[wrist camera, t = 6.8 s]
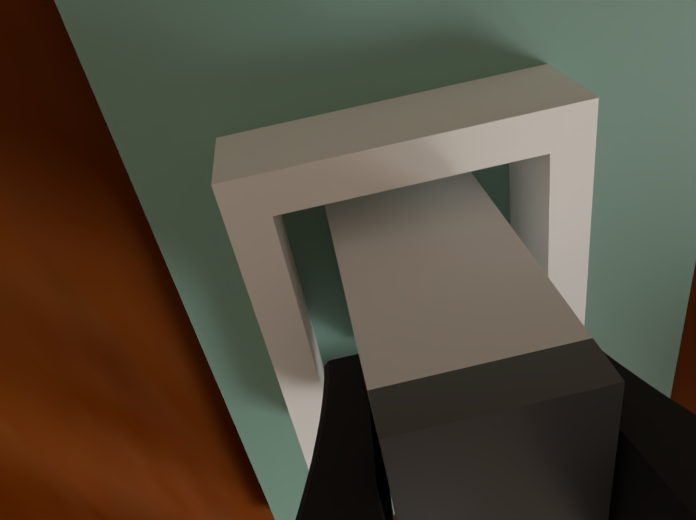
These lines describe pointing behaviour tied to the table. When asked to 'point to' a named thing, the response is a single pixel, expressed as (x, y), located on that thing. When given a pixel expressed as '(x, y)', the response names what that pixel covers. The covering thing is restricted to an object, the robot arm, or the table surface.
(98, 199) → the table surface
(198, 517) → the table surface
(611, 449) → the plug
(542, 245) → the socket board
